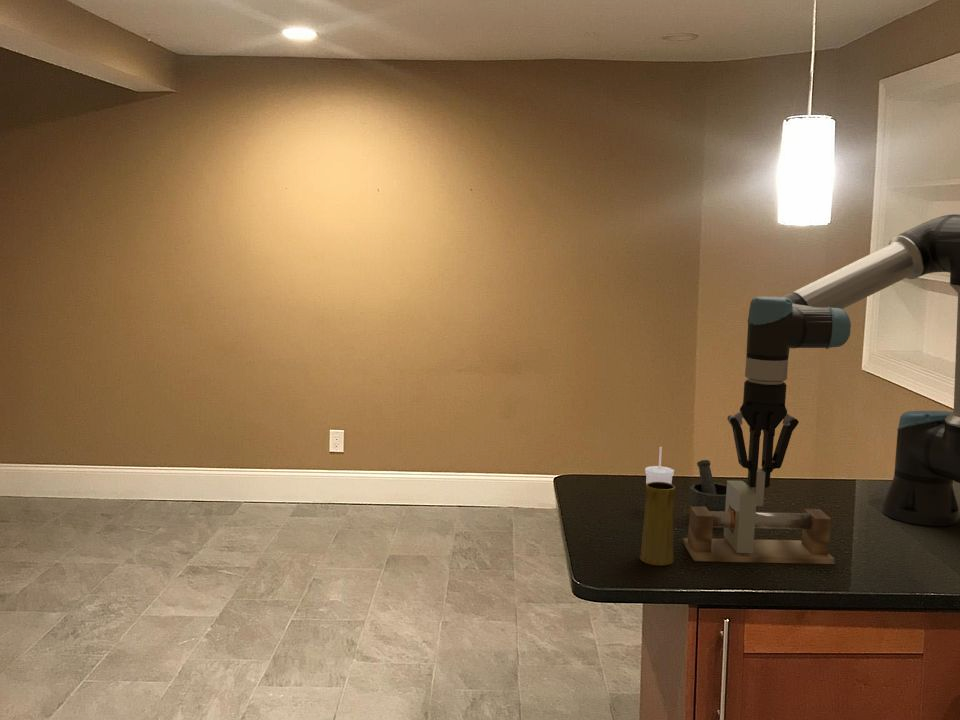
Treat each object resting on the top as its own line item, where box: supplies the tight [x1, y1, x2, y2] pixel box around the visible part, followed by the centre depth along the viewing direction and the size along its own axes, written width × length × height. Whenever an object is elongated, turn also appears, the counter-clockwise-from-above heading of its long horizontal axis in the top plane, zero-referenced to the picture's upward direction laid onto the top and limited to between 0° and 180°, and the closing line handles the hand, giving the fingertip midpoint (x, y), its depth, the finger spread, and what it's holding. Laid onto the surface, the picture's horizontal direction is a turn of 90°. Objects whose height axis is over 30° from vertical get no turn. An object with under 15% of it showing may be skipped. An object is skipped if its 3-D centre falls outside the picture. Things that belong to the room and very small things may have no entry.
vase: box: [639, 482, 676, 567], centre depth 180 cm, size 6×6×14 cm
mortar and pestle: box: [689, 459, 727, 511], centre depth 205 cm, size 11×9×12 cm
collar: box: [723, 479, 757, 553], centre depth 185 cm, size 3×10×11 cm, turn 1°
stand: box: [682, 505, 836, 565], centre depth 186 cm, size 26×10×8 cm, turn 91°
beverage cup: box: [644, 446, 675, 486], centre depth 211 cm, size 6×6×14 cm
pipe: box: [709, 510, 812, 530], centre depth 185 cm, size 23×4×4 cm, turn 91°
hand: (757, 503), depth 185 cm, fingers closed
